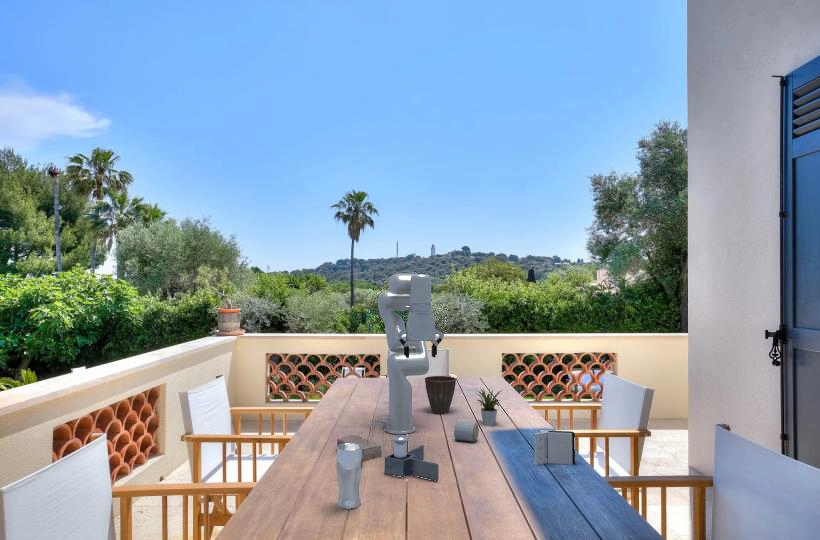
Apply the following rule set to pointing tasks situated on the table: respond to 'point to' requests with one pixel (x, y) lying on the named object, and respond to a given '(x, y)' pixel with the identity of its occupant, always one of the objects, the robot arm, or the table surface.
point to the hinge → (554, 447)
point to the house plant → (488, 408)
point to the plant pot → (440, 392)
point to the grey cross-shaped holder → (412, 465)
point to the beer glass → (349, 474)
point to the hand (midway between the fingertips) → (420, 357)
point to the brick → (363, 446)
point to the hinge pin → (400, 446)
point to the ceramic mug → (466, 430)
